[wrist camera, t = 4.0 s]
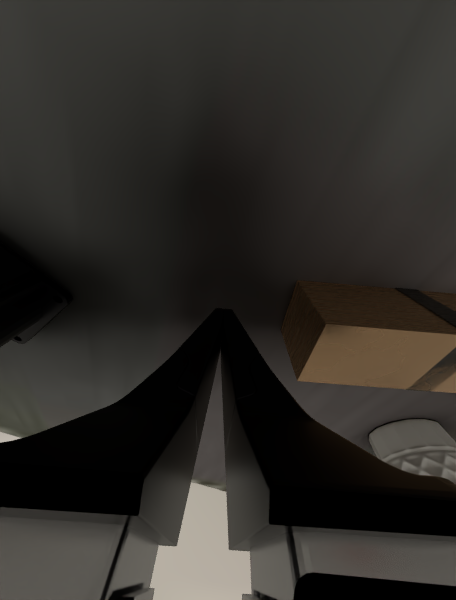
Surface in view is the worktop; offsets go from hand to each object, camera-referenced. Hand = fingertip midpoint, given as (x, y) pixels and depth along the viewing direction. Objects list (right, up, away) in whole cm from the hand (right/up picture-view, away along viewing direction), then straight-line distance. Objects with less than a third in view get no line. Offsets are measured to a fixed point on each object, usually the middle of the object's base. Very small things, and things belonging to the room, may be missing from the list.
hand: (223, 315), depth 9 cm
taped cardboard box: (+10, 0, +1) cm, 10 cm away
